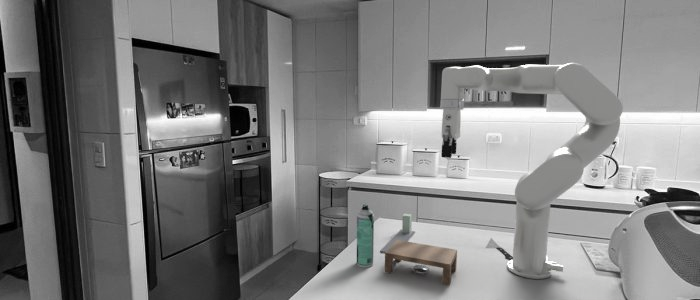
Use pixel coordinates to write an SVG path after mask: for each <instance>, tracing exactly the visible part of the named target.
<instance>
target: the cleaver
mask: <svg viewBox="0 0 700 300" xmlns="http://www.w3.org/2000/svg"><path fill="white" fill-rule="evenodd" d="M485 249H496V250H497V251H499V252H500V253H501V254H502V255H503V256H504V258H505V259H506V260H507V261H510V260H513V255H511V254H510V253H509V252H507V251H506V250H505V249H504V248H502V247H501V246H500V245H499V244H498V243H497V242H496V241H495V240H494V239H493V238H492V237H491V238H490V239H489V241H488V242H487V244H486V246H485Z"/></svg>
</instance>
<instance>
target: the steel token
mask: <svg viewBox="0 0 700 300" xmlns="http://www.w3.org/2000/svg"><path fill="white" fill-rule="evenodd" d="M412 272H413V273H414V274H417V275H423V276H424V275H427V274H429V273H430V268H429V266H428V265H424V264H416V265H414V266H412Z"/></svg>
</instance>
